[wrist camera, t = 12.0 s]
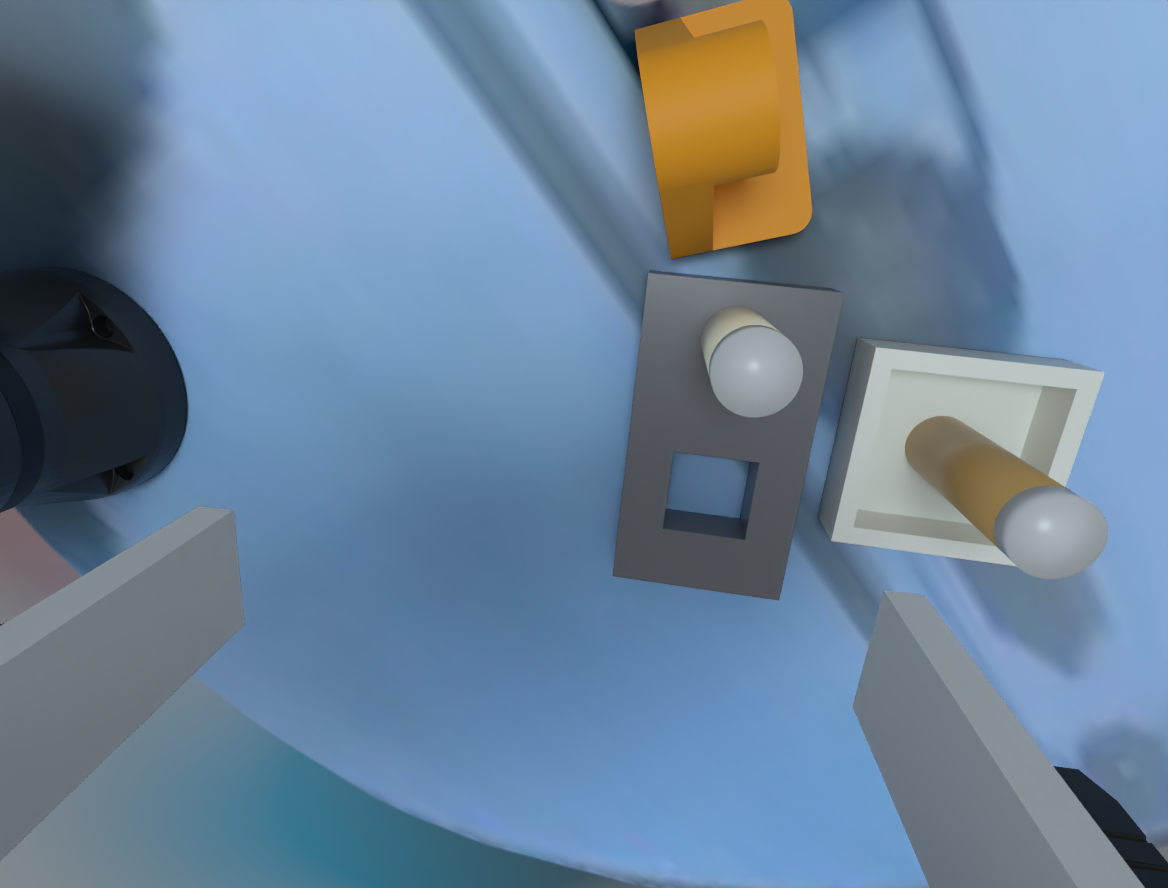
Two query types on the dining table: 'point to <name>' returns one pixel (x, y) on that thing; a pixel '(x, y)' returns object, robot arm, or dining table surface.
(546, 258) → the dining table surface
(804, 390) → the fuse block
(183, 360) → the dining table surface
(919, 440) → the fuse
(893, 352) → the parts tray
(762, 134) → the bracket
